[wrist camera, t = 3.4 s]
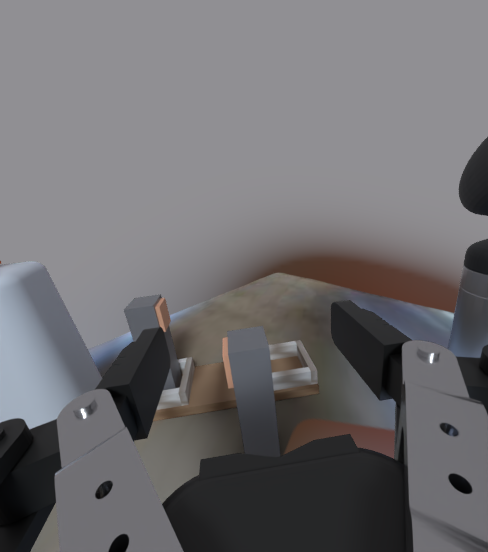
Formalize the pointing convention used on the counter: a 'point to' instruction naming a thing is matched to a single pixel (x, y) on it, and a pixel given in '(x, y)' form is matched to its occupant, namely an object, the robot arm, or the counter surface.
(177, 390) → the wooden base with sockets
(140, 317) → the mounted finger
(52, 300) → the grey bottle
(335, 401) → the counter surface
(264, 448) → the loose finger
